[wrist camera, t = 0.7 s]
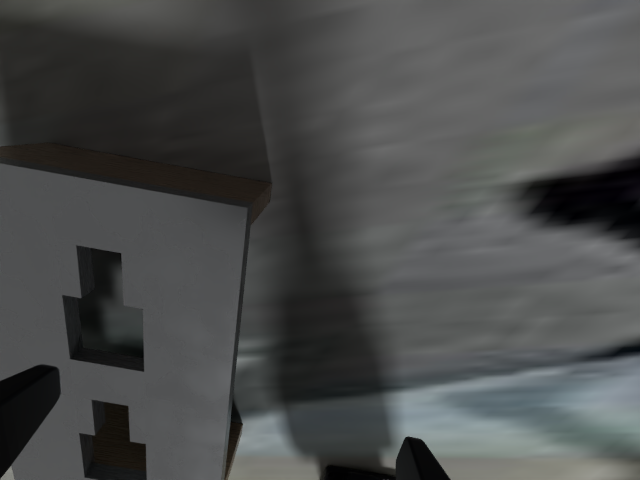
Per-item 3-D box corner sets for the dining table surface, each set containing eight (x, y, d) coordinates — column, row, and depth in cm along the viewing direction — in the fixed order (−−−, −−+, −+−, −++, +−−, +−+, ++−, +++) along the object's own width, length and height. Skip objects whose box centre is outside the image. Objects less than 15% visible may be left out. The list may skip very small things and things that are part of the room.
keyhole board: (241, 434, 28) (217, 512, 23) (79, 406, 28) (14, 479, 22) (271, 183, 20) (247, 207, 15) (48, 142, 20) (-63, 152, 15)
